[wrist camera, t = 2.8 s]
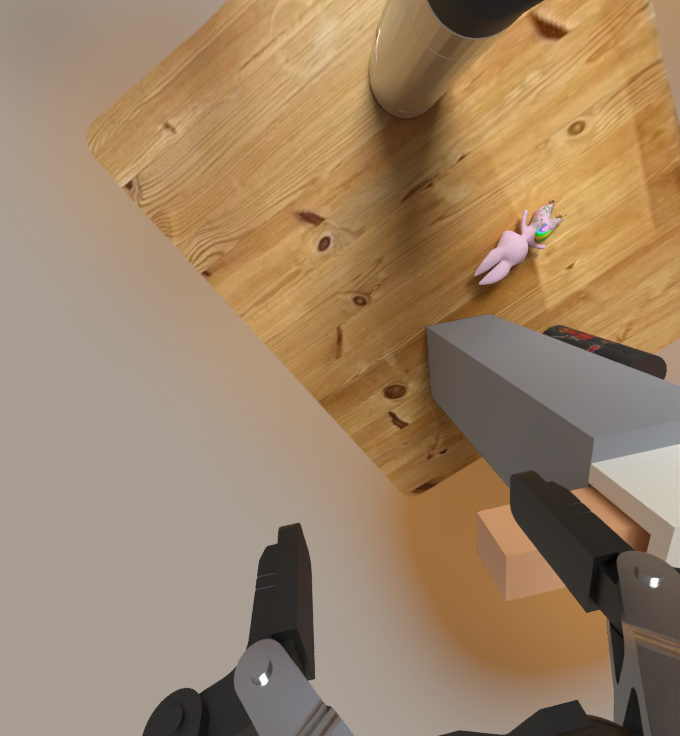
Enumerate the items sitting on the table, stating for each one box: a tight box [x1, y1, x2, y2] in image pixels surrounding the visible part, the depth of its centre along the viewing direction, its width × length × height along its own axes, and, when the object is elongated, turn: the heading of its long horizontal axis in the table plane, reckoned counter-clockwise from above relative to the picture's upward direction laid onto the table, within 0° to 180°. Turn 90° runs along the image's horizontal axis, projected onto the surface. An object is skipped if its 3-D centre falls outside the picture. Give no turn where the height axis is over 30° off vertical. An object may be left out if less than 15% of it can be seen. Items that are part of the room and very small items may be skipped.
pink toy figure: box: [474, 198, 569, 285], centre depth 45 cm, size 6×6×15 cm
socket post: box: [426, 314, 680, 568], centre depth 36 cm, size 12×10×36 cm
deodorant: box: [543, 325, 667, 380], centre depth 47 cm, size 6×6×15 cm
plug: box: [477, 486, 651, 602], centre depth 22 cm, size 4×22×4 cm, turn 100°
